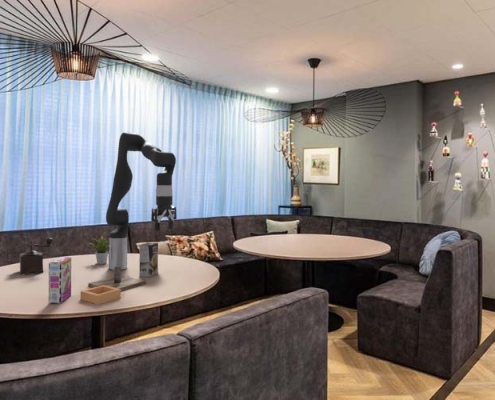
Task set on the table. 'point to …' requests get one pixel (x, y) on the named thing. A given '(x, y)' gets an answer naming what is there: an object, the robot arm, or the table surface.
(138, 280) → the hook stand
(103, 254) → the house plant
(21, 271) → the manual coffee grinder
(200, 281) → the table surface
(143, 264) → the coffee box
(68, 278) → the candy bar box
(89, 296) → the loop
